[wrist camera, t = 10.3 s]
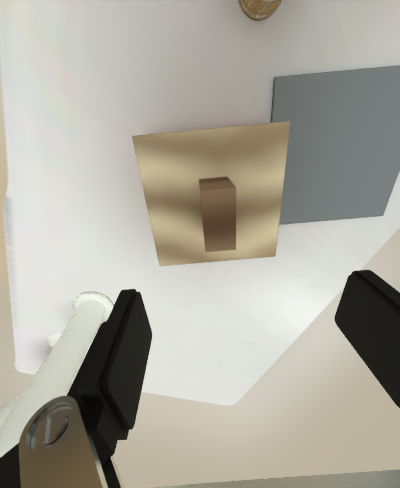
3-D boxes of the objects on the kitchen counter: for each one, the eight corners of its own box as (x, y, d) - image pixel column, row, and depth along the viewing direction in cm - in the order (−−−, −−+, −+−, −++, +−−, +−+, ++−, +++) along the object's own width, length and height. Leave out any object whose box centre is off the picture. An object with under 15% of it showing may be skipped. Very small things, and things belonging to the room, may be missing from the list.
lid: (134, 135, 20) (113, 136, 15) (286, 121, 20) (319, 117, 15) (160, 261, 27) (153, 292, 22) (272, 252, 27) (291, 281, 22)
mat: (274, 78, 23) (276, 77, 23) (434, 63, 23) (439, 61, 22) (263, 224, 32) (264, 225, 31) (379, 214, 32) (382, 215, 31)
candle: (100, 323, 41) (-5, 541, 19) (68, 306, 39) (-96, 533, 17) (121, 305, 39) (29, 527, 17) (88, 285, 36) (-71, 515, 14)
